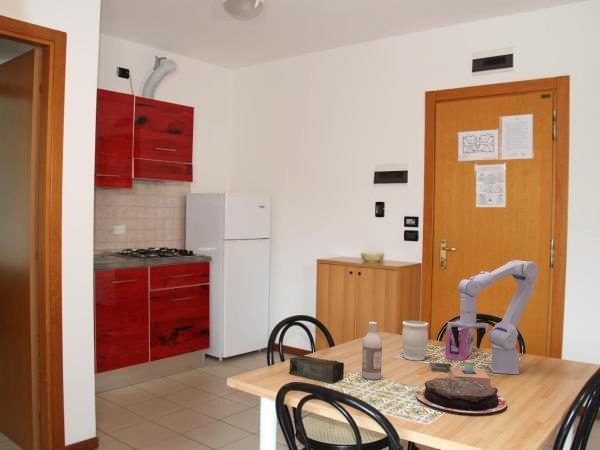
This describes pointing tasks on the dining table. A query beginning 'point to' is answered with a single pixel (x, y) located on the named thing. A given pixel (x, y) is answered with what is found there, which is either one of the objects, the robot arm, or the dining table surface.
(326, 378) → the dark grey long block
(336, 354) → the dining table surface
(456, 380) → the chocolate cake
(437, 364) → the mount
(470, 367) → the pin
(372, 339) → the bath foam
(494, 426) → the dining table surface
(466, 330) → the gum box
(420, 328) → the jar
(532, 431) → the dining table surface
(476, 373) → the socket
